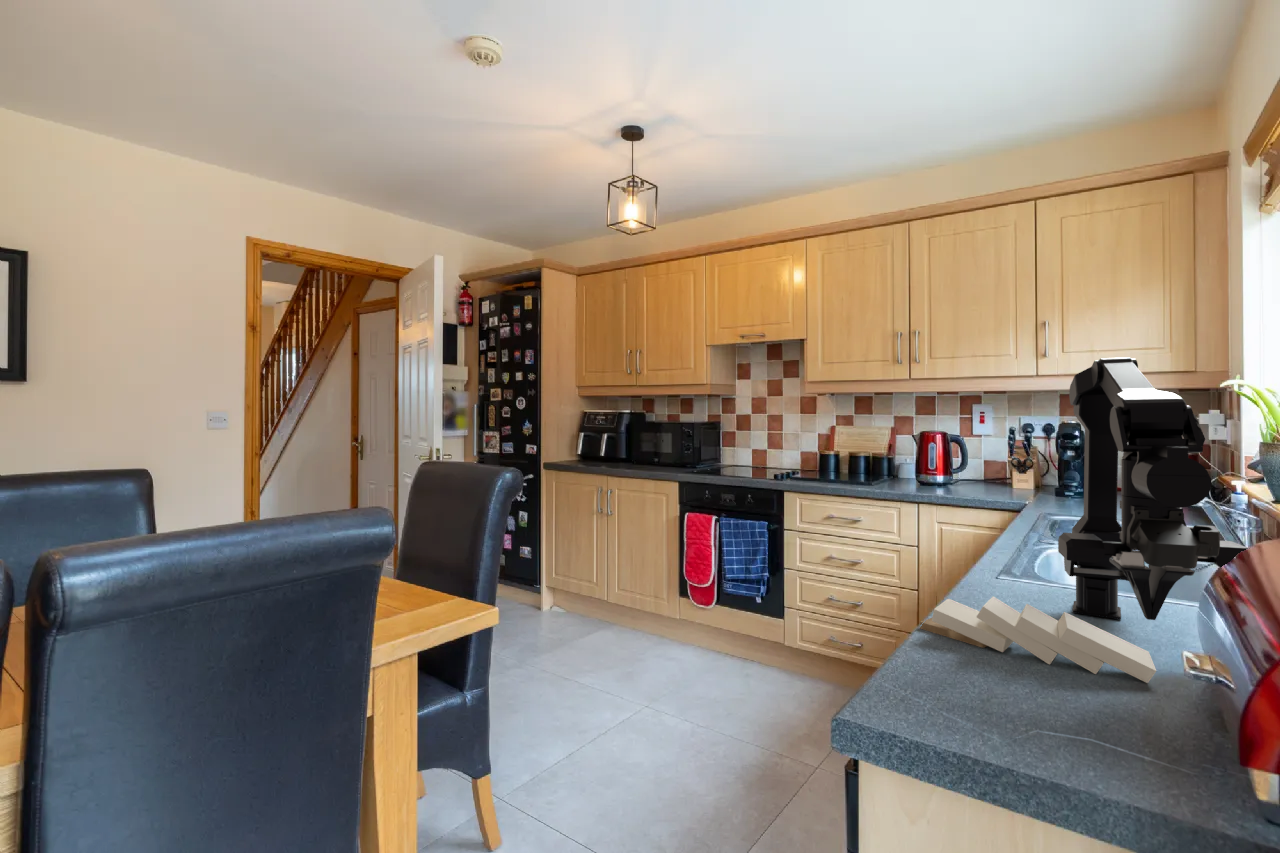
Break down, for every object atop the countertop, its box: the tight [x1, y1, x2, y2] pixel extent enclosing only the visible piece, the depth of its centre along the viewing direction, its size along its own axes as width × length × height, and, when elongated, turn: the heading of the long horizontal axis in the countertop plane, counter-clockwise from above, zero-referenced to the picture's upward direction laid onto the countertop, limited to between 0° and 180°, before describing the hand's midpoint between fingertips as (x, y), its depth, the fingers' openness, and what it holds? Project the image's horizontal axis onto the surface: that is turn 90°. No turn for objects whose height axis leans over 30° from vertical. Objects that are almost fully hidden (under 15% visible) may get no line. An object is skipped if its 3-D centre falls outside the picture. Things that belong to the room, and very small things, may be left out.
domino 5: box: [1057, 611, 1157, 684], centre depth 81 cm, size 2×5×10 cm
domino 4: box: [1015, 603, 1105, 675], centre depth 84 cm, size 2×5×10 cm
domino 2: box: [931, 598, 1015, 653], centre depth 92 cm, size 2×5×10 cm
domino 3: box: [977, 595, 1059, 665], centre depth 87 cm, size 2×5×10 cm
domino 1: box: [919, 617, 988, 649], centre depth 95 cm, size 2×5×10 cm
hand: (1149, 618), depth 79 cm, fingers closed
